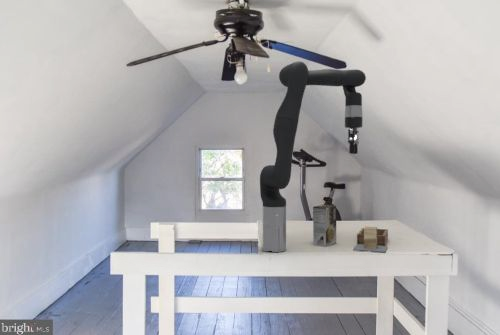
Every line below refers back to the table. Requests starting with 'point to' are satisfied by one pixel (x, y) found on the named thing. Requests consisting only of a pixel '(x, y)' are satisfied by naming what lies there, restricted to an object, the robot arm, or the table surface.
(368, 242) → the oak block
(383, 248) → the slate mat
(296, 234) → the table surface
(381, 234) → the walnut surround
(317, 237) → the coffee box
